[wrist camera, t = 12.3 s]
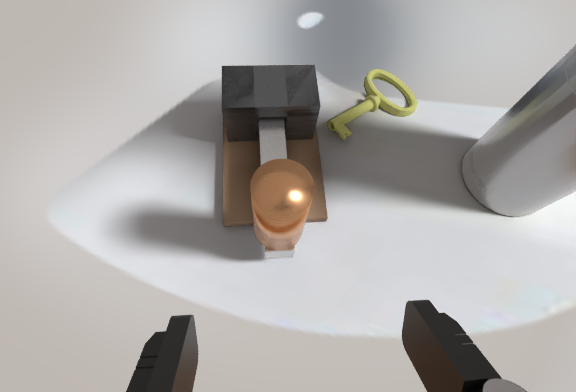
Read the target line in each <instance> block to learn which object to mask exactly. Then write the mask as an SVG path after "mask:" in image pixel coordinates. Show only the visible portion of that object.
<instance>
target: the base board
mask: <svg viewBox="0 0 576 392" xmlns="http://www.w3.org/2000/svg"><path fill="white" fill-rule="evenodd" d="M286 151H287V159H290V160H293V161H296V162H298V163H300V164H301V165H303V166H304V167H305V168H306V169H307V170H308V171H309V172H310V174H311V176H312V178H313V181H314V185H315V191H314V196H313V199H312V202H311V206H310V209H309V212H308V215H307V219H306V222H323V221H326V220H327V218H328V217H327V209H326V202H325V194H324V186H323V178H322V171H321V163H320V155H319V147H318V140H317V132H316V127H315V132H314V136H313V139H306V140H286ZM260 166H261V160H260V141H237V142H228V139H227V134H226V128H225V123H224V117H223V225H224V226H242V225H254V221H253V210H252V200H251V190H250V184H251V179H252V177H253V175H254V173H255V171H256V170H257V169H258V168H259V167H260Z"/></svg>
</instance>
